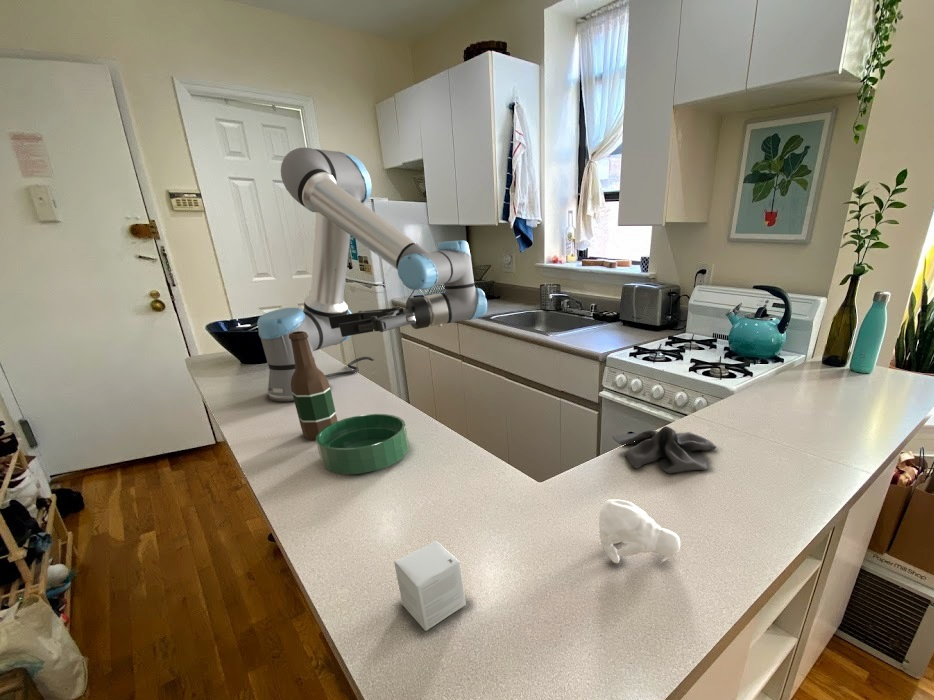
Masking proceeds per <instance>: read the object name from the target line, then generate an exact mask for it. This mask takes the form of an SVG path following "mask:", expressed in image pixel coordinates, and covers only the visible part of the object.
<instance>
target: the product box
mask: <svg viewBox="0 0 934 700" xmlns="http://www.w3.org/2000/svg"><path fill="white" fill-rule="evenodd" d="M393 563H394V564H393V565H394V568H395V574H396V580H397V584H398V591H399V596H400V599H401V605H402V606H403V607H404V608H405V609H406V611H407V612H408V613H409V614H410V615H411V616H412V618H413V619H414V620H415V621H416V622H417V623H418V625H420V627H421V628H422V629H423V630H424V631H425V632H427V631H429V630H430V629H431V628H433V627H434V626H436V625H437V624H439V623H441V622H442V621H443V620H445V619H447V618H448V617H449V616H451V615H453V614H454V613H455V612H457V611H459V610H460V609H462V608H463V607H465V606H466V605H467V602H466V596H465V589H464V582H463V572H462V565H461V561H460V560H458V558H457V557H456V556H454V555H453V554H452V553H451V552H449V550H447V549H446V548H445V547H444V546H443V545H442V544H441V543H439V542H438V541H437V540H433V541H431V542H429V543H428V544H425V545H424V546H422V547H420V548H418V549H416V550H414V551H412V552H410V553H408V554H405V555H404V556H402V557H400V558H398V559H396V560H394V561H393Z"/></svg>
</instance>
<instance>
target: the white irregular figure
mask: <svg viewBox="0 0 934 700" xmlns="http://www.w3.org/2000/svg"><path fill="white" fill-rule="evenodd" d="M598 518H599V519H598V520H599V521H598V531H599V532H598V533H599V539H600V542H601V545H602V547H603V550H604V552H605V554H606V555H607V556H608V558H609V559H610V560H611V562H612V563H613V564H619V562H620V561H621V560H620V558H621V557H628V556H633V555H634V556H635V555H636V554H641V553H643V554H648V553H654V554H655V553H656V554H658V556H659V558H662V559H660V560H659V562H660V561H661V562H660V564H662V563H664V562H665V561H667V560H668V559H670V558H672V557H673V556H674V555H677V554H678V553H679V551H680V549H681V539H680V537H679V535H678V534H677V533H676V532H674V531H672V530H669V529H668V528H662V527H661V526H660V525H659V524H658V523H656V522H655V520H654V519H653V518H652V517H650V516H649V515H648V513H647V512H646V511H644V510H643V509H642V508H640V507H639V506H637V505H636V504H635V503H633V502H631V501H628V500H625V499H624V500H623V499H607V500H606V501H605V502H604V503H603V505H602V507H601V509H600V512H599V517H598ZM619 543H623V544H624V546H623V547H622V548H620V549H617V548H616V547H615V546H614V544H619Z"/></svg>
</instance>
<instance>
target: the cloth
mask: <svg viewBox="0 0 934 700" xmlns="http://www.w3.org/2000/svg"><path fill="white" fill-rule="evenodd" d="M611 437H612V439H613V440H614V441H615V442H616V443H617V444H619V445H621V446H624V445H625V446H626V445H634V446H632V447H630V448H628V449H627V450H626V451H625V452H624V457H626V458H627V459H628V462H630V464H631V465H632V467H633V468H634V469H636V470H638V469H640V468H641V467H642V466H643V465H647V464H650V463H653V462H657V461H659V467H660V469H661V470H663V471H664V472H666V473H667V474H674V473H681V472H689V471H705V470H708V462H707V459H706V456H705V455H704V454H703V453H702V452H701V451H703V452H704V451H714V450H715V449H716V448H717V445H716V444H715V443H713V442H712V441H711V440H709V439H707V438H705V437H703V436H700V435H698V434H695V433H693V432H690V431H687V432H684V433H677V432H676V430H675V429H673V428H671V427H670V426H667V425H665V426H663V427H661V428H660V429H659V430H658V431H657V430H653V429H647V430H644V431H642V432H632V433H626V434H617V435H613V436H611ZM634 441H635V442H634Z"/></svg>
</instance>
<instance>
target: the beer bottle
mask: <svg viewBox="0 0 934 700" xmlns="http://www.w3.org/2000/svg"><path fill="white" fill-rule="evenodd" d="M307 338H308V335H307V333H306V332H303V331H297V332H292V333H290V334H289V339H291V343H292V349H293V355H294V360H295V371H294V374H293V376H292V379H291V389H292V394H293V398H294V401H293V402H294V405H295V410H296V414H297V417H298V421H299V425H300V429H301V432H302V435H303V436H304V437H305V438H306V439H307V440H309V441H310V440H311V441H316V436H317V435H318V433H319V432H320V431H321V430H323V429H324V428H325V427H327V426H329V425H331V424H333V423H335V422H337V421H338V417H337V412H336V408H335V402H334V398H333V393H332V389H331V386H330V385H331V384H330V383H329V382H330V381H329V379H328V378H326V376H325V375H326V374H324V372H323V371H322V370H321V369H320V368H319V367H318V366H317V364H316V361H315V362H314V360H315V358H314V359H313V356H312V352H311V349H310V346H309V343H308V339H307ZM317 367H318V368H317Z"/></svg>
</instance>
